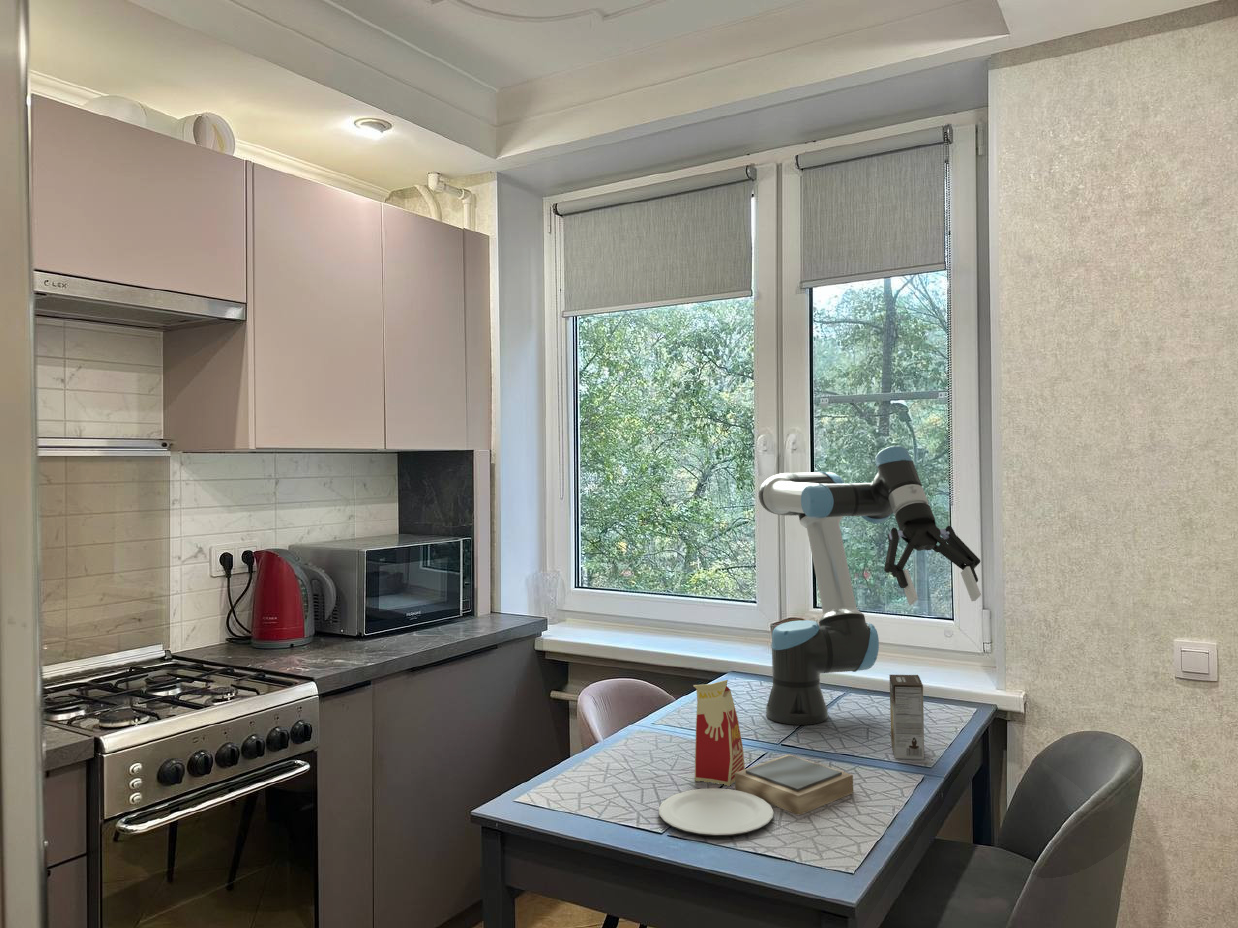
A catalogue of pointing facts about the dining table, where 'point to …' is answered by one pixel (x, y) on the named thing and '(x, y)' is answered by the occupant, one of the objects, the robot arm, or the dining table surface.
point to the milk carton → (717, 735)
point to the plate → (716, 812)
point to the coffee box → (907, 716)
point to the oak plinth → (794, 783)
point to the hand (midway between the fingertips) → (945, 599)
